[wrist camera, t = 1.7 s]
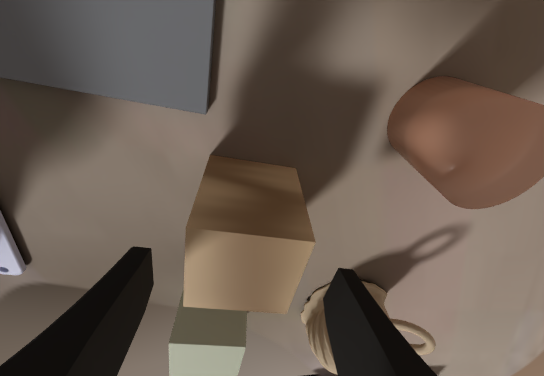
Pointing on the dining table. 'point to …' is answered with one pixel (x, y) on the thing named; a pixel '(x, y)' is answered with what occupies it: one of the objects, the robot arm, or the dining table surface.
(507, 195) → the terracotta cylinder
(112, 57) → the slate mat
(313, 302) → the cream ribbed piece
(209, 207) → the oak block
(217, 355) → the sage block
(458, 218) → the dining table surface
